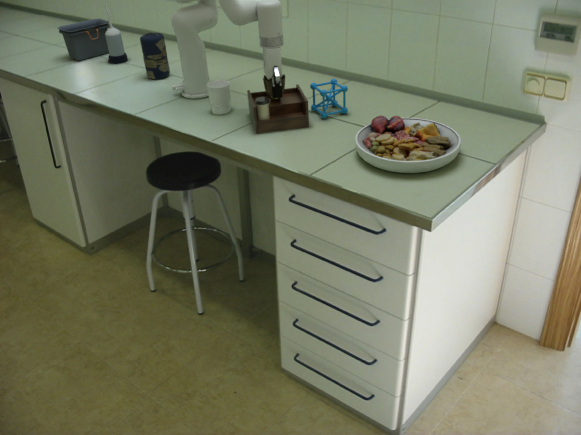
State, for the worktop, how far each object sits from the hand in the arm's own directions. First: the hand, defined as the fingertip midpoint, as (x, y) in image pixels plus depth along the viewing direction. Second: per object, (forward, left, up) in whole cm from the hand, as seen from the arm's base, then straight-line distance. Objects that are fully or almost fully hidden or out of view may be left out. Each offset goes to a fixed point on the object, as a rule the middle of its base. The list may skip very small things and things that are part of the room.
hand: (275, 92), depth 197 cm
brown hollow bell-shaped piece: (0, 0, -3) cm, 3 cm away
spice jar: (-5, -8, -6) cm, 11 cm away
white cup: (-18, +12, -9) cm, 23 cm away
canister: (-40, +58, -9) cm, 71 cm away
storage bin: (-71, +99, -9) cm, 122 cm away
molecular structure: (+18, -1, -9) cm, 20 cm away
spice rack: (0, -3, -9) cm, 9 cm away
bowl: (+32, -39, -9) cm, 51 cm away
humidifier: (-58, +86, -9) cm, 104 cm away
